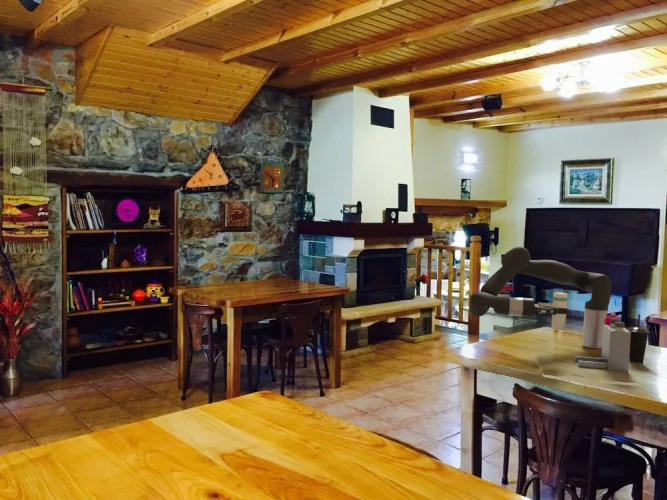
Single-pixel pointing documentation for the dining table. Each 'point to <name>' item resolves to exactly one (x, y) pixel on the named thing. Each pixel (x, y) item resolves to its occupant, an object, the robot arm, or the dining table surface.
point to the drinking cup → (638, 343)
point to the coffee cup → (559, 319)
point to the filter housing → (610, 351)
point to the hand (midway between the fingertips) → (566, 310)
